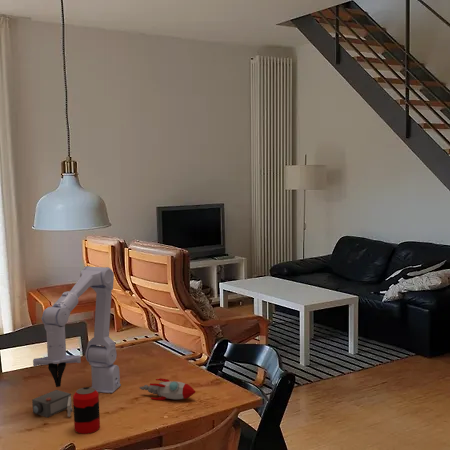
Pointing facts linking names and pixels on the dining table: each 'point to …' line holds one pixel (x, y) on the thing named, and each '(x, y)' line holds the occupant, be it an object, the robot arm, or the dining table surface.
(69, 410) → the side door
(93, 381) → the robot arm
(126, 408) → the dining table surface
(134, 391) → the dining table surface
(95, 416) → the soda can
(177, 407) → the dining table surface
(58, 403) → the cam body
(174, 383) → the toy
